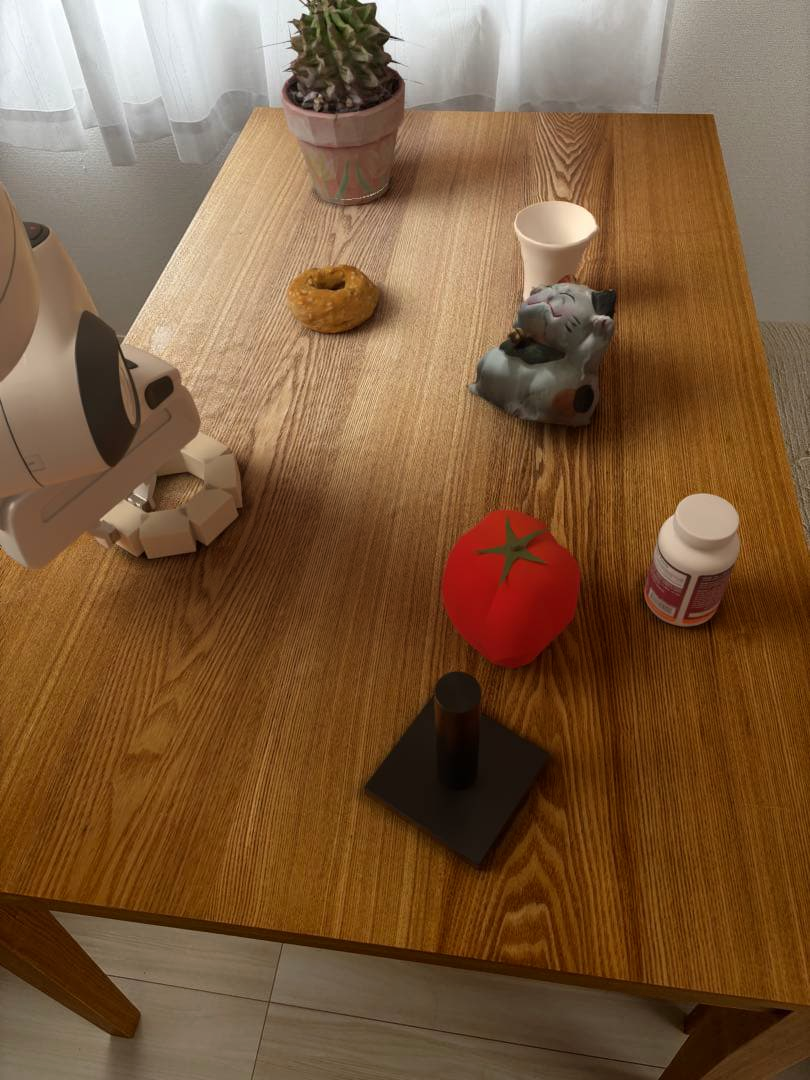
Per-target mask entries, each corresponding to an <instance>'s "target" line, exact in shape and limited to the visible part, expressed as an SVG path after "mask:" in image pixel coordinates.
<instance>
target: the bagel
mask: <svg viewBox="0 0 810 1080" xmlns="http://www.w3.org/2000/svg"><path fill="white" fill-rule="evenodd" d="M380 296H381V294H380V290H379V287H378V286H377V285H376V284H375V283H374V281H373V280H372V279H370V278H369V276H367V275H366V274H365V273H364V272H363V271H362V270H361V269H359V268H358V267H356V266H354V265H348V264H343V263H341V264H340V263H339V264H338V265H337V266H334V265H331V266H326V267H324V268H318V267H310V268H308V269H305V270H304V271H303V272H301V273H300V274H299V275H298V276H296V277H295V278H294V279H293V280H292V281H291V283H290V285H289V287H288V289H287V291H286V296H285V298H286V307H287V308H288V310H289V311H290V313H291V315H292V317H293V318H295V319H296V320H298V321H299V322H300V324H301V325H302V326H303V327H305V328H306V329H308V330H311V331H317V332H319V333H323V334H329V333H330V334H336V333H341V332H342V333H343V332H346V331H349V330H352V329H355V327H358V326H360V325H361V324H363V323H364V322H365V321H366V320H368V319H370V318H371V317H372V316H373V314H374V309H375V308H376V307H377V305H378V304H377V303H378V302H379V300H380V298H381V297H380Z"/></svg>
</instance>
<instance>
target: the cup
mask: <svg viewBox="0 0 810 1080" xmlns="http://www.w3.org/2000/svg"><path fill="white" fill-rule="evenodd" d="M513 227H514V231H515V234H516V236H517V239H518V241H519V244H520V251H521V257H522V260H523V272H524V273H523V274H524V276H523V277H524V279H523V280H524V283H523V284H524V285H523V295H522V299H523V302H525V301H526V300H527V299H528V298H529V297H530V292H531V290H532V287H535V288H536V287H538V286H539V285H540V284H541V285H546V286H550V285H555V284H556V283H557V282H558V281H559V280H560V279H561V278H563V277H564V276H566V275H567V274H568V273H570V274H572V275H574V276H575V277H576V273H577V269H578V267H579V264H580V262H581V260H582V258H583V254H584V253H585V251H586V249H587V247H588V246H589V244H590V243H592V241H593V240H594V239H595V238H597V237H599V234H600V232H601V227H600V226H599V225H598V223H597V220H596V218H595V216H594V214H592V213H591V212H590V211H589V210H587V209H586V208H585V207H582V206H581V205H578V204H576V203H572V202H569V201H563V200H562V201H561V200H547V201H541V202H536V203H533V204H531V205H528V206H526V207H524V208H523V209H521V210H520V211H518V212H517V213H516V216H515V219H514V222H513Z"/></svg>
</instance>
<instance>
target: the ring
mask: <svg viewBox="0 0 810 1080" xmlns="http://www.w3.org/2000/svg"><path fill="white" fill-rule="evenodd" d="M187 472H188V473H189V474H191V475H193V476H195V477H197V478H199V479H200V480H202V481H203V487H201V489H200V490H199V491H197V492H196V493H195V495H193V496H192V497H191V498H190V499H189V500H188V501H187V502H186V503H184V504H183V505H182V506H181V507H175V508H171V509H164V510H158V511H157V510H156V511H151V512H150V513H146V512H144V511H143V510H141V509H139V508H138V507H136V506H134V505H133V504H131V503H129V501H128V499H127V498H129V497H130V496H131V495H132V494H133V492H131V493H130V494H129V495H128V496H127V497H126V498H124V499H123V500H122V501H121V502H120V503H119V504H117V505H116V506H115V507H114V508H113V509H112V510H110V511H109V512H108V513H107V514H106V515H105V516H103V517H102V518H101V519H100V522H101V521H102V520H104V521H106V522H108V524H109V525H113V526H114V527H116V528H117V530H118V532H119V533H118V535H120V537H121V539H120V540H118V541H117V542H116V543H115V544H116V545H117V546H119V547H121V548H122V549H124V550H125V551H127V552H128V553H130V554H131V555H133V556H134V557H136V558H139V557H140V556H141V555H142V554H143V553H144V552H145V555H146V557H147V559H149V560H151V559H157V558H164V557H168V556H169V557H170V556H176V555H182V554H188V553H195V552H197V542H200V543H201V544H203V545H204V546H206V547H208V546H209V545H210V544H211V543H212V542H213V541H215V539H216V538H218V536H219V535H220V534H221V533H222V532H223V531H224V530H226V529H227V528H228V527H229V526H230V525H231V524H232V523H233V522H234V521H235V520H236V519H238V517H239V513H238V510H237V509H240V508H243V495H242V493H243V492H242V481H241V473H240V470H239V466H238V462H237V459H236V455H235V453H232V451H231V448H230V446H229V445H227V444H225V443H223V442H221V441H219V440H217V439H215V438H213V437H211V436H209V435H207V434H205V433H204V432H202V431H200V430H199V432H198V435H197V436H196V437H195V438H194V439H193V440H192V441H191V442H190V443H188V444H187V445H186V446H185V447H184V448H183V449H181V450H180V451H179V452H178V453H177V454H176V455H174V456H173V457H172V458H171V459H170V460H169V461H167V462H166V463H165V464H164V465H163V466H162V467H160V468H159V469H158V470H157V471H156V472H155V474H156V477H161V476H168V475H173V474H179V473H180V474H181V473H187Z"/></svg>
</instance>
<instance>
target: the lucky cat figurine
mask: <svg viewBox="0 0 810 1080" xmlns="http://www.w3.org/2000/svg"><path fill="white" fill-rule="evenodd" d="M617 297H618V292H617V290H616V289H615V288H610V289H608V288H607V289H603V290H600V291H598V290H595V289H593V288H590V287H589V286H588V285H587V284H579V283H578V279H577V277H576V275H575V276H574V275H572V274H570V273H568V274H567V275H566V276H564V277H563V278H561V279H560V280H559V281H558V282H557V283H556V284H555V285H550V286H546V285H541V284H540V285H539V286H538V287H536V288H535V287H532V290H531V292H530V297H529V298H528V299H527V300H526V301H523V302H522V303H521V304H520V306H519V309H518V310H517V316H516V318H515V320H514V321H513V324H512V328H511V330H510V331H509V333H508V335H507V336H506V337H507V340H504V341H503V342H500V345H497V346H494V347H493V348H491V349H489V350H488V351H487V352H485V353H484V354H483V355H482V357H481V358H480V359H479V360H478V362H477V364H476V372H475V373H476V380H475V382H473V383H470V384H465V385H464V386H465V387H466V389H467V390H468V392H469V393H470V394H472V395H475V396H478V397H479V398H481V399H484V400H486V401H487V402H489V403H491V404H492V405H493V406H495V408H497V409H498V410H499V411H501V412H503V413H505V414H507V415H510V416H513V417H515V418H517V419H519V420H524V421H528V422H533V423H544V424H554V425H566V426H569V427H581V426H588V425H591V423H592V419H593V414H594V412H595V409H596V407H597V405H598V403H599V401H600V396H601V394H600V389H599V370H600V365H601V362H602V361H603V360H604V358H605V355H606V351H607V349H608V348H609V347H610V344H611V342H612V340H613V339H612V338H613V337H614V335H615V332H616V323H615V321H614V316H615V314H616V312H617V310H616V304H617Z"/></svg>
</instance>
